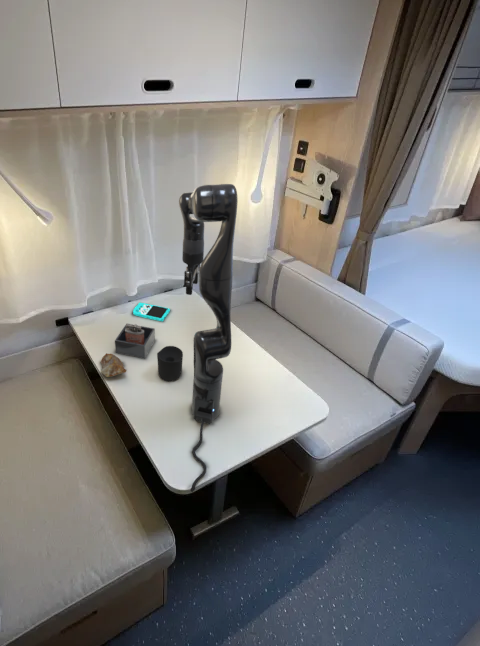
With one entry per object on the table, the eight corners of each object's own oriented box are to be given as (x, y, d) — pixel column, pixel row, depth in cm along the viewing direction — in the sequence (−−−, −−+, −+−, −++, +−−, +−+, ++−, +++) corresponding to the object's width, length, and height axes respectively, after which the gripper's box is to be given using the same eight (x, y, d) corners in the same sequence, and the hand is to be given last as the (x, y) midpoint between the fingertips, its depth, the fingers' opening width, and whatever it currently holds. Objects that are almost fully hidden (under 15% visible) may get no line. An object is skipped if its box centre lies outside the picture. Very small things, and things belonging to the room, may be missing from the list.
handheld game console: (139, 303, 193) (139, 301, 192) (170, 310, 188) (170, 307, 187) (130, 314, 185) (130, 312, 184) (162, 321, 180) (162, 319, 180)
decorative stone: (106, 375, 143) (92, 355, 155) (108, 384, 145) (94, 365, 157) (130, 366, 147) (115, 348, 159) (132, 375, 149) (116, 357, 161)
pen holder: (184, 380, 148) (185, 360, 143) (160, 384, 146) (159, 363, 141) (179, 364, 156) (179, 344, 150) (155, 367, 154) (155, 347, 148)
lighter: (145, 343, 165) (145, 324, 160) (143, 348, 162) (142, 329, 157) (127, 341, 167) (125, 321, 161) (124, 346, 164) (123, 326, 158)
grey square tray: (144, 358, 159) (144, 346, 155) (115, 352, 162) (114, 340, 158) (155, 340, 169) (154, 328, 165) (127, 335, 172) (126, 323, 168)
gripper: (188, 240, 147) (187, 278, 156) (177, 255, 136) (176, 296, 145) (208, 242, 145) (205, 281, 154) (198, 258, 134) (196, 299, 143)
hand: (191, 288), depth 149 cm, fingers open, 8 cm apart
